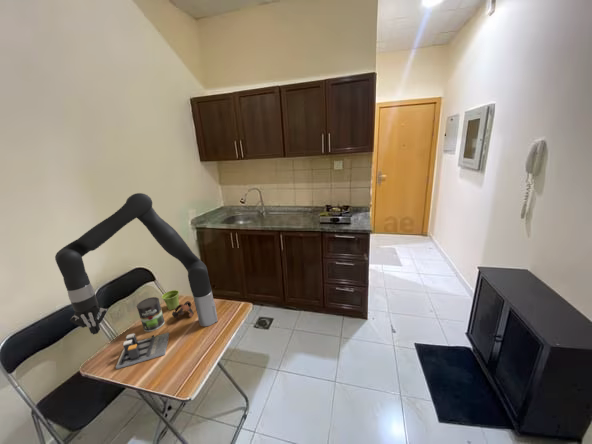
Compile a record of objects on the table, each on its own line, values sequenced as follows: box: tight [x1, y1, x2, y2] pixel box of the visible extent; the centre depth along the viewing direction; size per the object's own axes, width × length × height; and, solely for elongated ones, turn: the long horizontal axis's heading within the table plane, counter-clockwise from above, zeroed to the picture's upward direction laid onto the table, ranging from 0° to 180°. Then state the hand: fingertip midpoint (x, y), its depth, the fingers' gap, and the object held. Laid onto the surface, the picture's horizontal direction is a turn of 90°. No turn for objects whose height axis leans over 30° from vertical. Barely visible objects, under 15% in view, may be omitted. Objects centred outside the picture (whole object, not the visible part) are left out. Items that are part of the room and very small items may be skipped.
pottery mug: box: [171, 300, 194, 319], centre depth 139 cm, size 12×10×8 cm
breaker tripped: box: [128, 344, 140, 360], centre depth 109 cm, size 3×2×5 cm
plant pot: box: [161, 289, 180, 311], centre depth 147 cm, size 9×9×9 cm
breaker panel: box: [115, 332, 170, 370], centre depth 115 cm, size 19×14×2 cm
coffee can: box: [136, 296, 166, 333], centre depth 131 cm, size 10×10×14 cm
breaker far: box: [125, 333, 138, 345], centre depth 116 cm, size 3×2×5 cm
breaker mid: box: [122, 340, 134, 355], centre depth 112 cm, size 3×2×5 cm
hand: (96, 332), depth 102 cm, fingers closed
